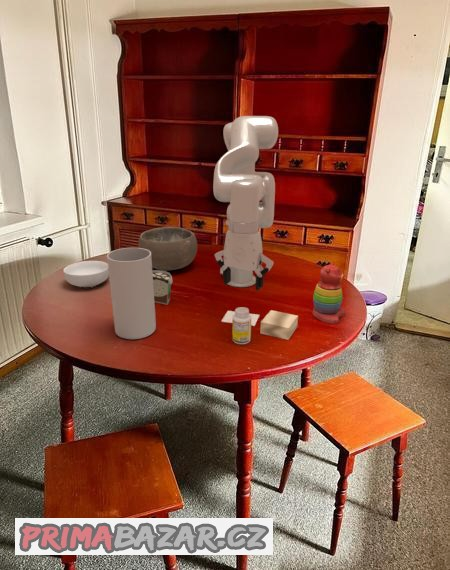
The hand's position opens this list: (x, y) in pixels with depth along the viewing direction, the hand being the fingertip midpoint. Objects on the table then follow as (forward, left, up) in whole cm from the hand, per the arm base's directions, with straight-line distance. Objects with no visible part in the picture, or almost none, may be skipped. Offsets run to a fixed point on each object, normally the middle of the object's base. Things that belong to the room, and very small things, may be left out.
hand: (242, 285), depth 122 cm
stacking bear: (+19, +28, -18) cm, 38 cm away
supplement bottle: (0, 0, -18) cm, 18 cm away
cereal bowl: (-71, +13, -18) cm, 75 cm away
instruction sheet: (-6, +13, -18) cm, 23 cm away
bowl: (-53, +43, -18) cm, 71 cm away
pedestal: (+8, +11, -18) cm, 23 cm away
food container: (-38, +14, -18) cm, 44 cm away
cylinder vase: (-32, -9, -18) cm, 38 cm away
